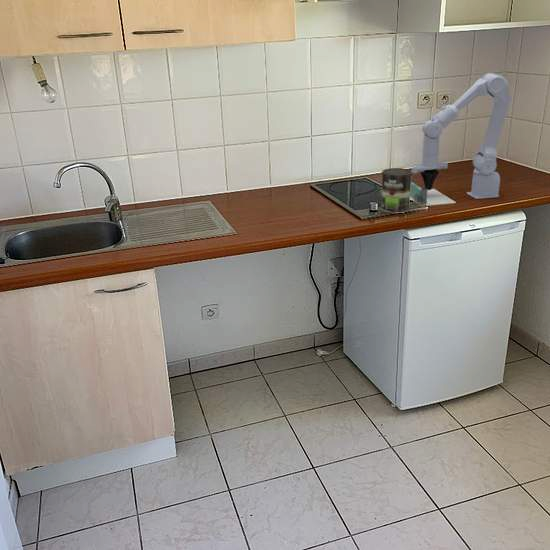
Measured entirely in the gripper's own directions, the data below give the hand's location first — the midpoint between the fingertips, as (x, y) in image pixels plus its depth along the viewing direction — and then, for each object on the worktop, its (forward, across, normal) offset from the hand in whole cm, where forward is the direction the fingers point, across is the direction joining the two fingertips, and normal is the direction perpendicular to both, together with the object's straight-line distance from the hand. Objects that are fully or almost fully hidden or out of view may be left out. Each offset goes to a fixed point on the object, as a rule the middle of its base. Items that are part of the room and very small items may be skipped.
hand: (428, 189), depth 221 cm
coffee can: (+3, +19, +8) cm, 21 cm away
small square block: (+3, +7, +5) cm, 9 cm away
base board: (+3, +1, 0) cm, 3 cm away
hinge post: (+3, +4, -7) cm, 9 cm away
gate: (+2, +6, 0) cm, 6 cm away
